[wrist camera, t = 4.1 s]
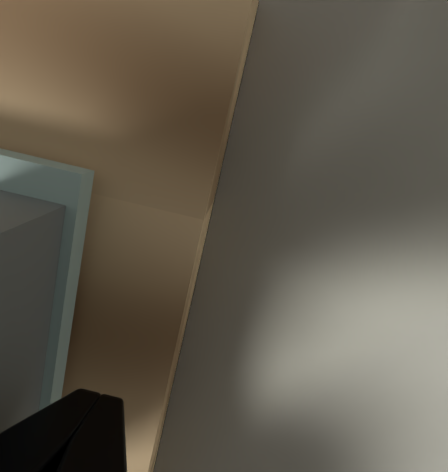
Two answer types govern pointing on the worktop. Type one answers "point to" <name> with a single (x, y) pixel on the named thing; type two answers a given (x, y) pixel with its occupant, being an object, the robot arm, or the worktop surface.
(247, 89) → the worktop surface
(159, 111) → the wooden board with hole
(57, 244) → the cover
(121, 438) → the robot arm
